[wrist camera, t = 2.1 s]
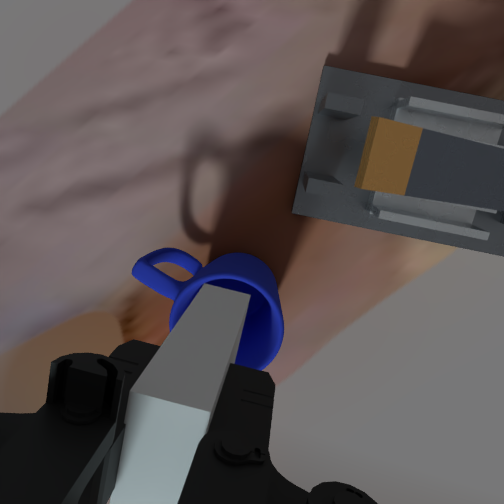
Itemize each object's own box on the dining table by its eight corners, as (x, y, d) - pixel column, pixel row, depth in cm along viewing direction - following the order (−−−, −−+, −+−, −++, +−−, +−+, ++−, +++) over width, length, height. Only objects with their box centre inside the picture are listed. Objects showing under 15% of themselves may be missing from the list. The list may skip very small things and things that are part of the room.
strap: (348, 189, 25) (365, 194, 24) (367, 112, 24) (385, 113, 23) (554, 220, 33) (574, 225, 32) (574, 165, 32) (595, 168, 31)
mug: (187, 201, 41) (156, 220, 32) (302, 273, 42) (306, 313, 32) (143, 276, 43) (102, 315, 33) (254, 343, 44) (244, 401, 34)
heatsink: (291, 211, 41) (293, 230, 32) (323, 67, 38) (333, 45, 29) (519, 257, 40) (583, 290, 31) (568, 115, 37) (654, 108, 29)
